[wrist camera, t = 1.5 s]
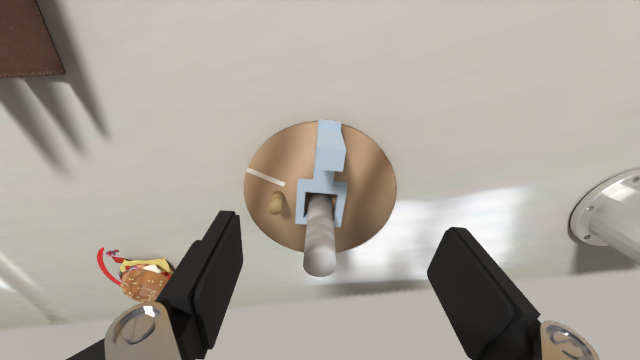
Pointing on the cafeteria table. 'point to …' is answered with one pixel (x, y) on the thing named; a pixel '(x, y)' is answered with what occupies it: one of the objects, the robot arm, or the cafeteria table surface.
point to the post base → (301, 165)
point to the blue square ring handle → (325, 171)
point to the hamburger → (139, 276)
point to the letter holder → (25, 41)
